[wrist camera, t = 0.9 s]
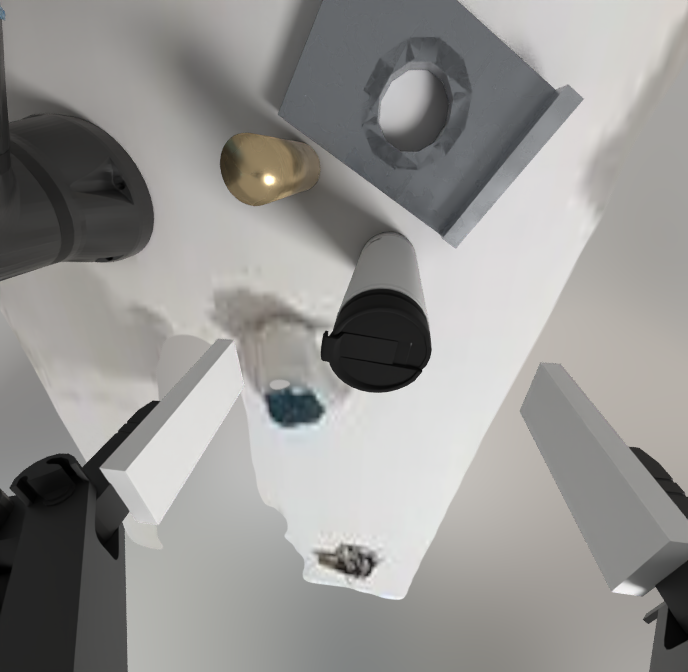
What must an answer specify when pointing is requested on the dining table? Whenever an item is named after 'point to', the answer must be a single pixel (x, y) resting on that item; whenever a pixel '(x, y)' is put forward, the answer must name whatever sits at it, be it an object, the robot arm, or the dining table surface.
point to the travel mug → (381, 320)
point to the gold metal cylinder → (267, 168)
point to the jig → (462, 116)
